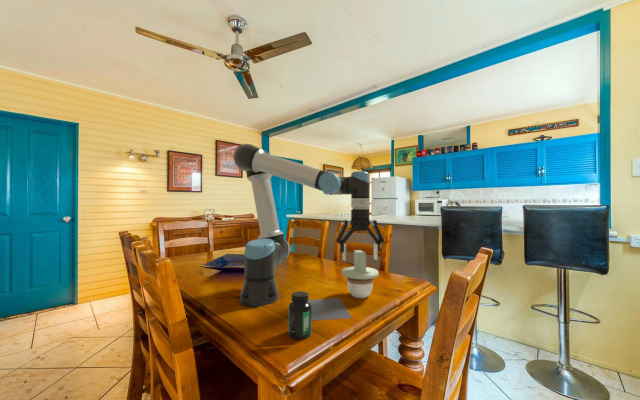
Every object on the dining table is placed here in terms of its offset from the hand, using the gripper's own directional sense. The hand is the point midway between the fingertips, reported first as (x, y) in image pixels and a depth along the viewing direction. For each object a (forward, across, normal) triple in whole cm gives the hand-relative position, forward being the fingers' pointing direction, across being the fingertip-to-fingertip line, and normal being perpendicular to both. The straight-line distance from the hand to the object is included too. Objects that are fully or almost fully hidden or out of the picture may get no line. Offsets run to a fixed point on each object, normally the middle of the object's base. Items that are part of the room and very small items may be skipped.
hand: (360, 259), depth 107 cm
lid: (+6, 0, 0) cm, 6 cm away
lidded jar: (+16, 0, 0) cm, 16 cm away
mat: (+15, -18, -11) cm, 26 cm away
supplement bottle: (+16, -27, -28) cm, 42 cm away
